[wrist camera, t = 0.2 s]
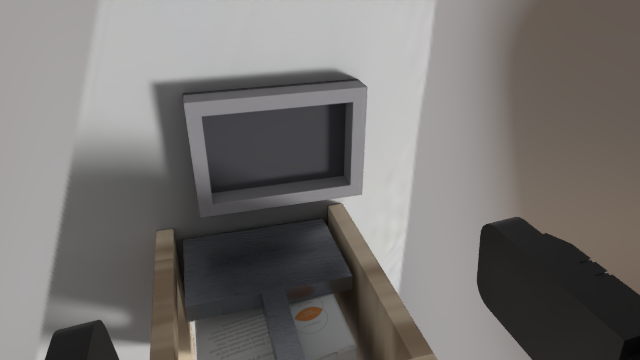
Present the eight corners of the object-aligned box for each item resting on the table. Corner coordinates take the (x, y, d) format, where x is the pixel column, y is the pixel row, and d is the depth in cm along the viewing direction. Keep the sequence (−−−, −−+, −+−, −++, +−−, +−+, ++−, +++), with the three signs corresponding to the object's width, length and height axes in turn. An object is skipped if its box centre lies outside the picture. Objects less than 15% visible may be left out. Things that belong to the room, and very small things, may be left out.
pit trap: (182, 93, 25) (183, 103, 24) (357, 78, 28) (367, 86, 26) (199, 204, 29) (200, 218, 27) (353, 182, 31) (362, 194, 30)
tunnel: (156, 231, 29) (145, 446, 17) (342, 203, 32) (444, 372, 20) (179, 346, 34) (184, 576, 22) (339, 313, 36) (420, 501, 25)
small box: (212, 322, 33) (228, 467, 25) (188, 263, 31) (196, 403, 22) (319, 287, 35) (371, 413, 26) (306, 228, 32) (358, 346, 23)
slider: (181, 229, 29) (195, 672, 12) (323, 208, 31) (508, 558, 14) (186, 262, 30) (207, 706, 13) (322, 239, 32) (493, 596, 15)
